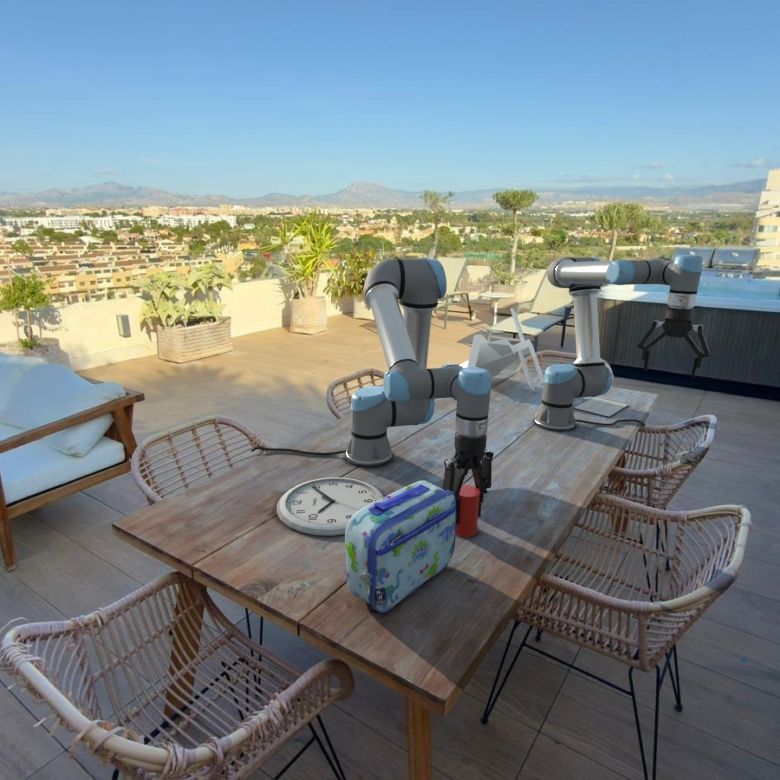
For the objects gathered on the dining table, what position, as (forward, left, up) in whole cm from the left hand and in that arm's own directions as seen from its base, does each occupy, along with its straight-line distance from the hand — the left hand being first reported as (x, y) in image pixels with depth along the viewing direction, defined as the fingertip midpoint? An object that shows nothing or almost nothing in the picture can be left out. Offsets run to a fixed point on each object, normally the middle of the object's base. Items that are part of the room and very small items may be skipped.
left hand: (465, 518), depth 131 cm
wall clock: (-36, -3, -4) cm, 37 cm away
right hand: (+47, +68, +26) cm, 86 cm away
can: (0, 0, -4) cm, 4 cm away
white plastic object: (-18, +131, -4) cm, 133 cm away
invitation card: (+29, +119, -4) cm, 122 cm away
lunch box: (-7, -26, -4) cm, 27 cm away
